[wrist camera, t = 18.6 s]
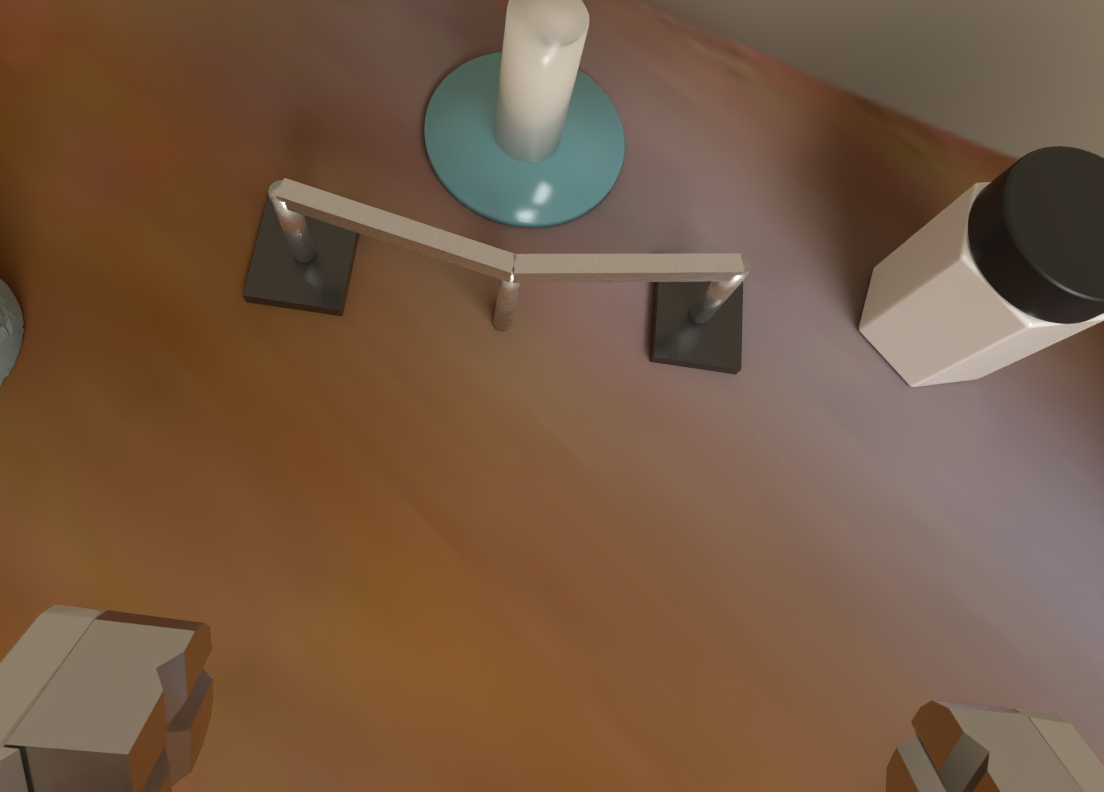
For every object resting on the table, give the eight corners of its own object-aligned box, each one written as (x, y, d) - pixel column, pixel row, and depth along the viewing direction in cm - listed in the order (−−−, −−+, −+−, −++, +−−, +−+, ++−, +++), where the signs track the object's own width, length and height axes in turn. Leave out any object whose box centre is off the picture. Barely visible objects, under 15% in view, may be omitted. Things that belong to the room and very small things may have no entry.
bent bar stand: (737, 279, 44) (790, 217, 37) (735, 374, 42) (791, 326, 35) (271, 203, 41) (239, 122, 34) (246, 301, 39) (207, 235, 33)
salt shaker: (547, 99, 45) (572, -23, 37) (569, 154, 44) (601, 41, 36) (484, 112, 44) (495, -11, 36) (506, 169, 43) (522, 56, 35)
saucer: (582, 43, 47) (584, 36, 47) (651, 202, 45) (654, 196, 44) (399, 77, 45) (399, 70, 44) (460, 249, 42) (460, 244, 41)
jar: (1015, 341, 46) (1206, 246, 34) (934, 419, 43) (1111, 344, 32) (913, 234, 47) (1065, 109, 35) (829, 304, 44) (963, 192, 33)
